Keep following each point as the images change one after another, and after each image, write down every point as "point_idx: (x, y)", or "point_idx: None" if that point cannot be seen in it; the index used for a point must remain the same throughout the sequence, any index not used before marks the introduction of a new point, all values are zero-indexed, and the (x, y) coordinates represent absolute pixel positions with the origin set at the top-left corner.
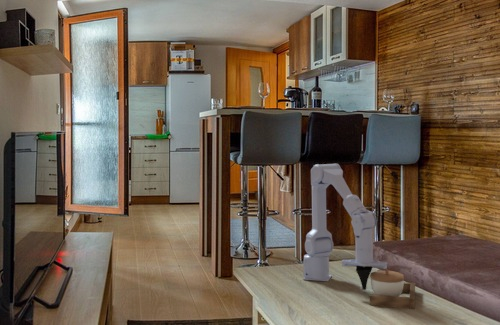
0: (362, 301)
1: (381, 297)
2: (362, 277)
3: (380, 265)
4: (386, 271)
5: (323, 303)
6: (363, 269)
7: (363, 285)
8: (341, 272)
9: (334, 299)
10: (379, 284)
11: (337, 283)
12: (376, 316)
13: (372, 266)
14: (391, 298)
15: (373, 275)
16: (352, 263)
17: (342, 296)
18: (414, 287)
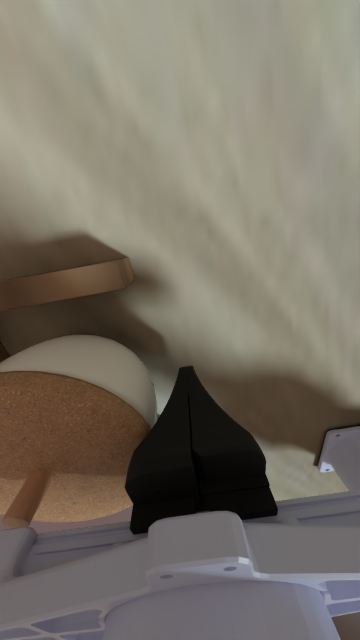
0: (173, 292)
1: (52, 272)
2: (197, 407)
3: (19, 579)
4: (21, 501)
5: (346, 173)
6: (201, 480)
7: (188, 375)
8: (290, 494)
9: (293, 265)
10: (67, 359)
11: (295, 428)
12: (9, 48)
13: (126, 539)
14: (2, 282)
15: (111, 430)
16: (351, 543)
17: (264, 318)
18: None
